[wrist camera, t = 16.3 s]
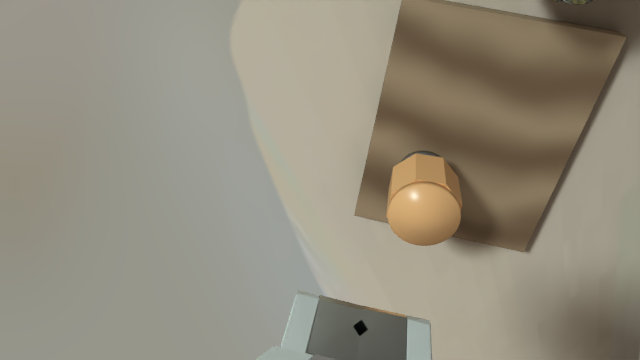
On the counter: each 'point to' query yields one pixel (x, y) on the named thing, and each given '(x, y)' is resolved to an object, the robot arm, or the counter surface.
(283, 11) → the counter surface
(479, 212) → the board
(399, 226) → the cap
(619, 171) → the counter surface
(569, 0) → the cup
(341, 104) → the counter surface
